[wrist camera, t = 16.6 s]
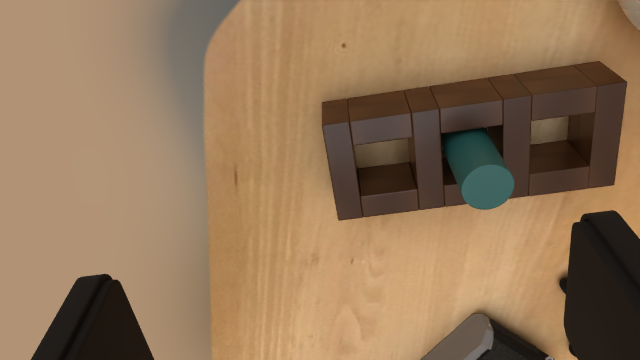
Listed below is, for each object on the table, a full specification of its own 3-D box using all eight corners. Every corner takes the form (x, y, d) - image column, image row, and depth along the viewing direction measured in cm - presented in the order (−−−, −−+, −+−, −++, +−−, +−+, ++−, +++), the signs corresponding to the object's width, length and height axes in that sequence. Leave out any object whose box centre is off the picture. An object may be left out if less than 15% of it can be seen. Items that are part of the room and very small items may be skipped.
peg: (438, 153, 42) (462, 213, 35) (436, 114, 40) (460, 168, 33) (482, 147, 41) (514, 206, 35) (481, 108, 40) (515, 161, 33)
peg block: (336, 191, 43) (338, 221, 40) (321, 101, 40) (321, 125, 36) (590, 158, 42) (614, 185, 38) (599, 60, 38) (627, 81, 35)
